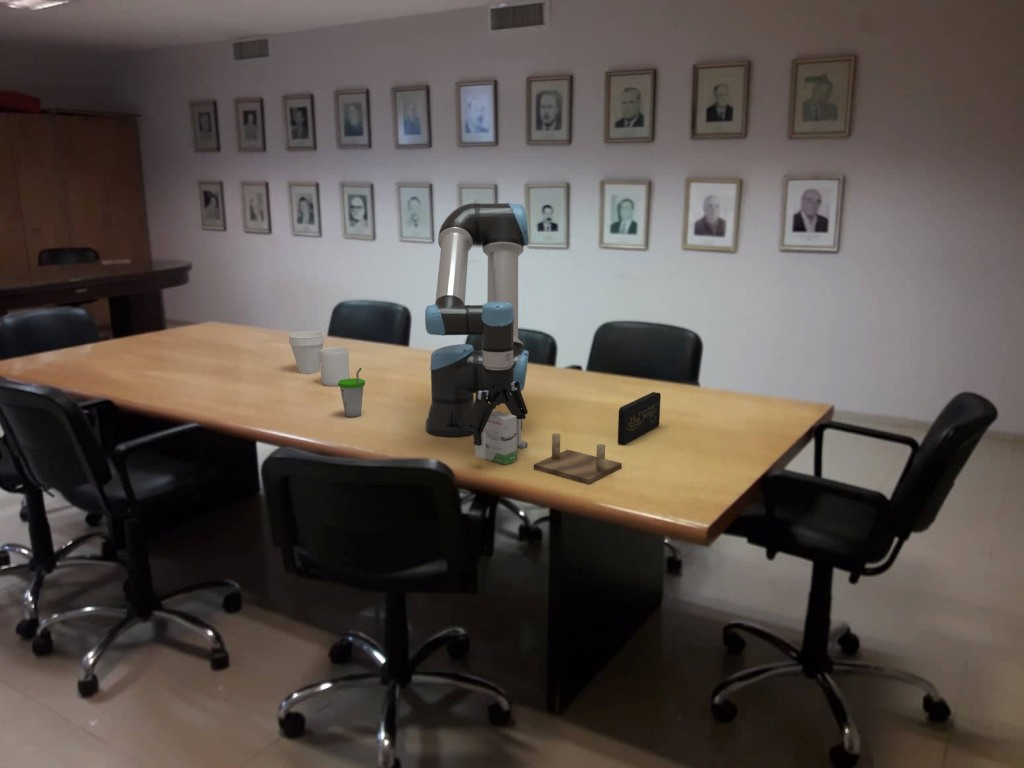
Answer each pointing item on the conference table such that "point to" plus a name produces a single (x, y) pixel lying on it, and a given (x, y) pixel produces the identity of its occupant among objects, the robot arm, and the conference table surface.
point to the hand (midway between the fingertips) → (498, 450)
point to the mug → (334, 365)
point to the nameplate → (638, 417)
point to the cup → (352, 395)
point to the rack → (577, 463)
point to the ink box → (501, 438)
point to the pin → (523, 445)
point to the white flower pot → (307, 350)
